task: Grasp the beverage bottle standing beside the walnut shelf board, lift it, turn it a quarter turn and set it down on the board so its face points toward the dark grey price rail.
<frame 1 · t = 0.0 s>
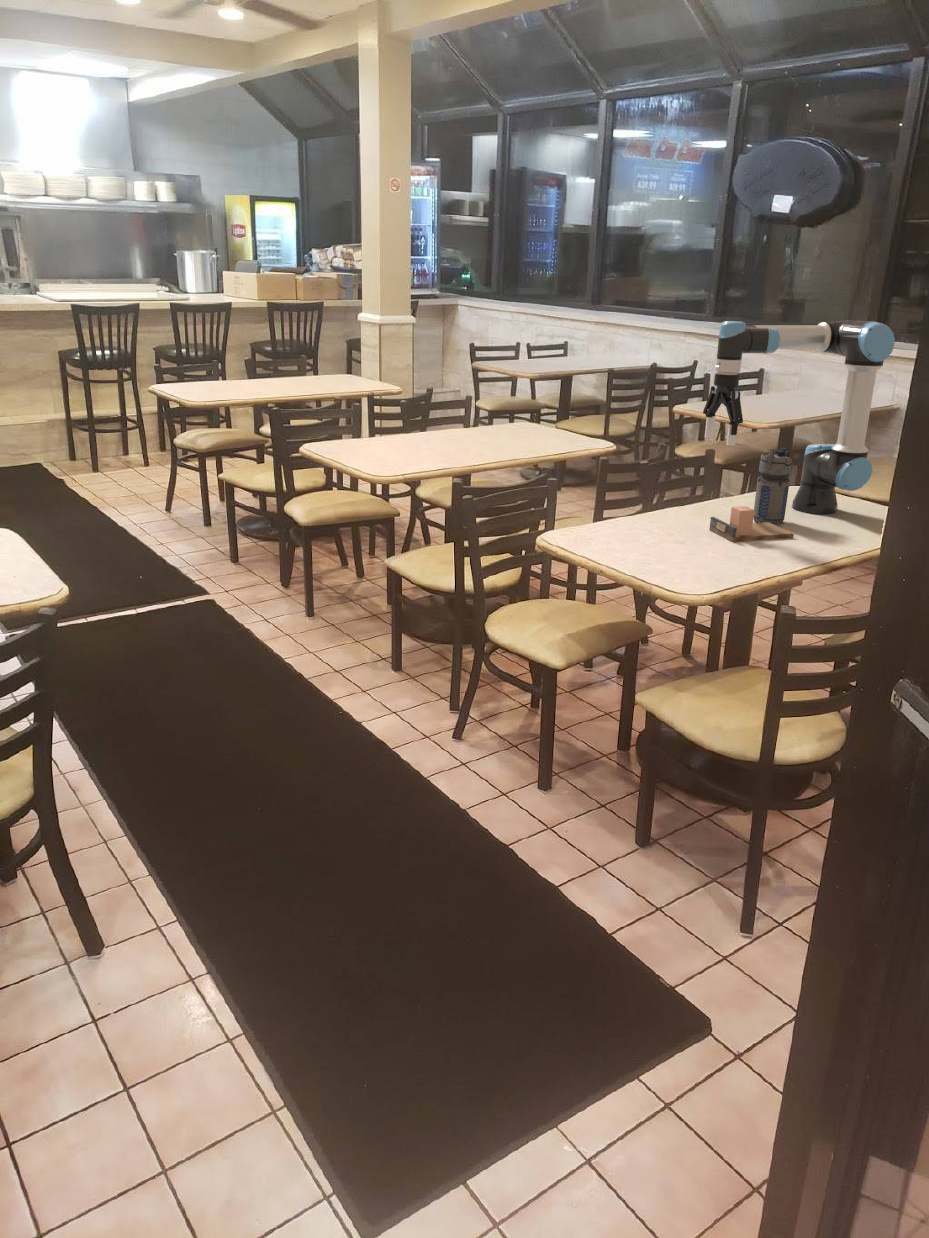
hand: (719, 441, 304), 28 cm above the table, fingers open, 13 cm apart
carton block: (739, 533, 301), point 1 cm above the table, touching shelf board
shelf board: (750, 534, 306), on the table
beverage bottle: (769, 522, 322), on the table
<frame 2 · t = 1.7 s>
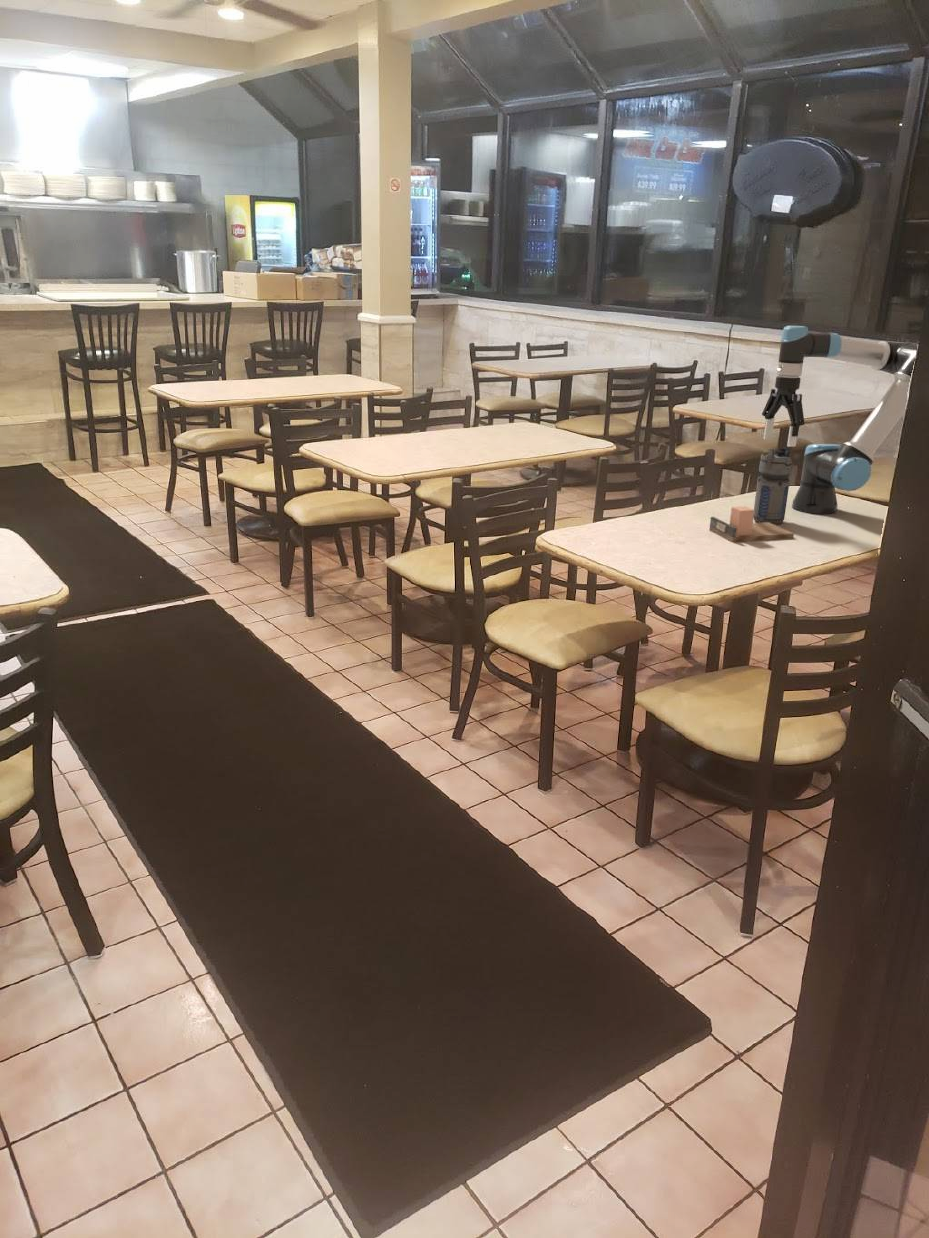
hand: (779, 442, 312), 27 cm above the table, fingers open, 13 cm apart
nothing on the table moved.
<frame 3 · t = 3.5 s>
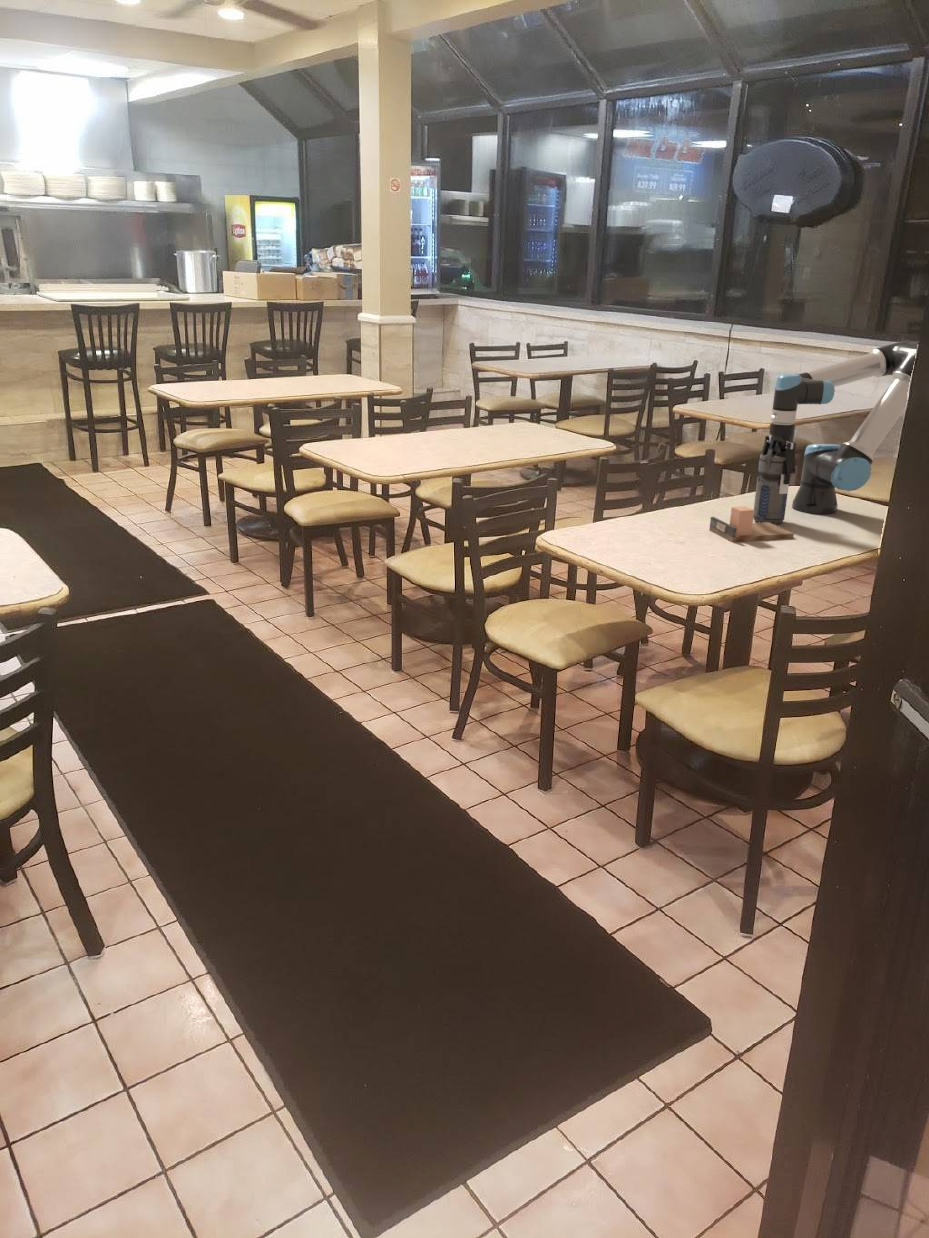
hand: (773, 489, 318), 11 cm above the table, fingers closed on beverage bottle, 10 cm apart
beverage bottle: (769, 521, 322), on the table, touching gripper
everything else where it was.
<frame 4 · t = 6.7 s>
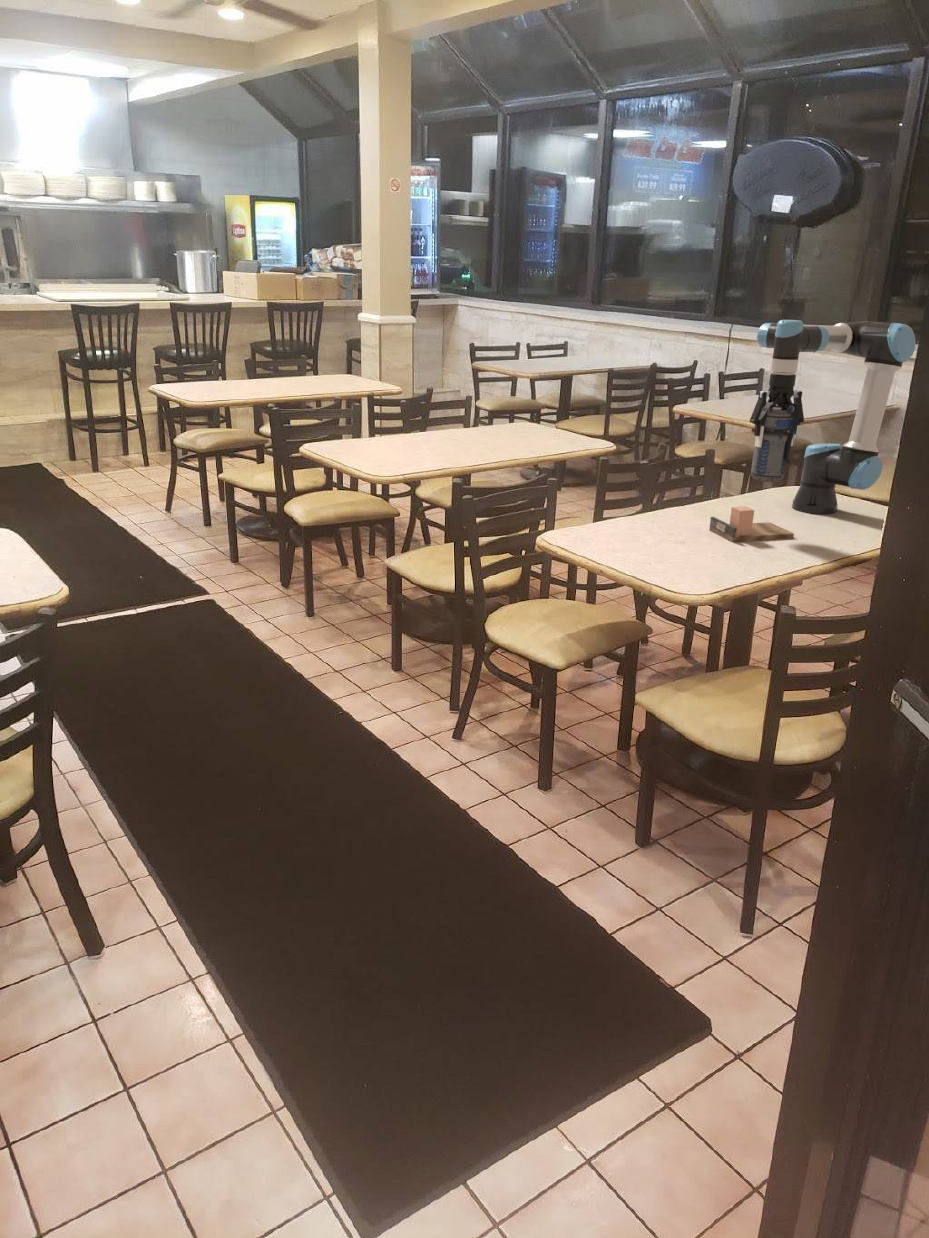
hand: (773, 446, 297), 28 cm above the table, fingers closed on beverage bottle, 10 cm apart
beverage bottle: (769, 480, 301), point 17 cm above the table, touching gripper
everything else where it was.
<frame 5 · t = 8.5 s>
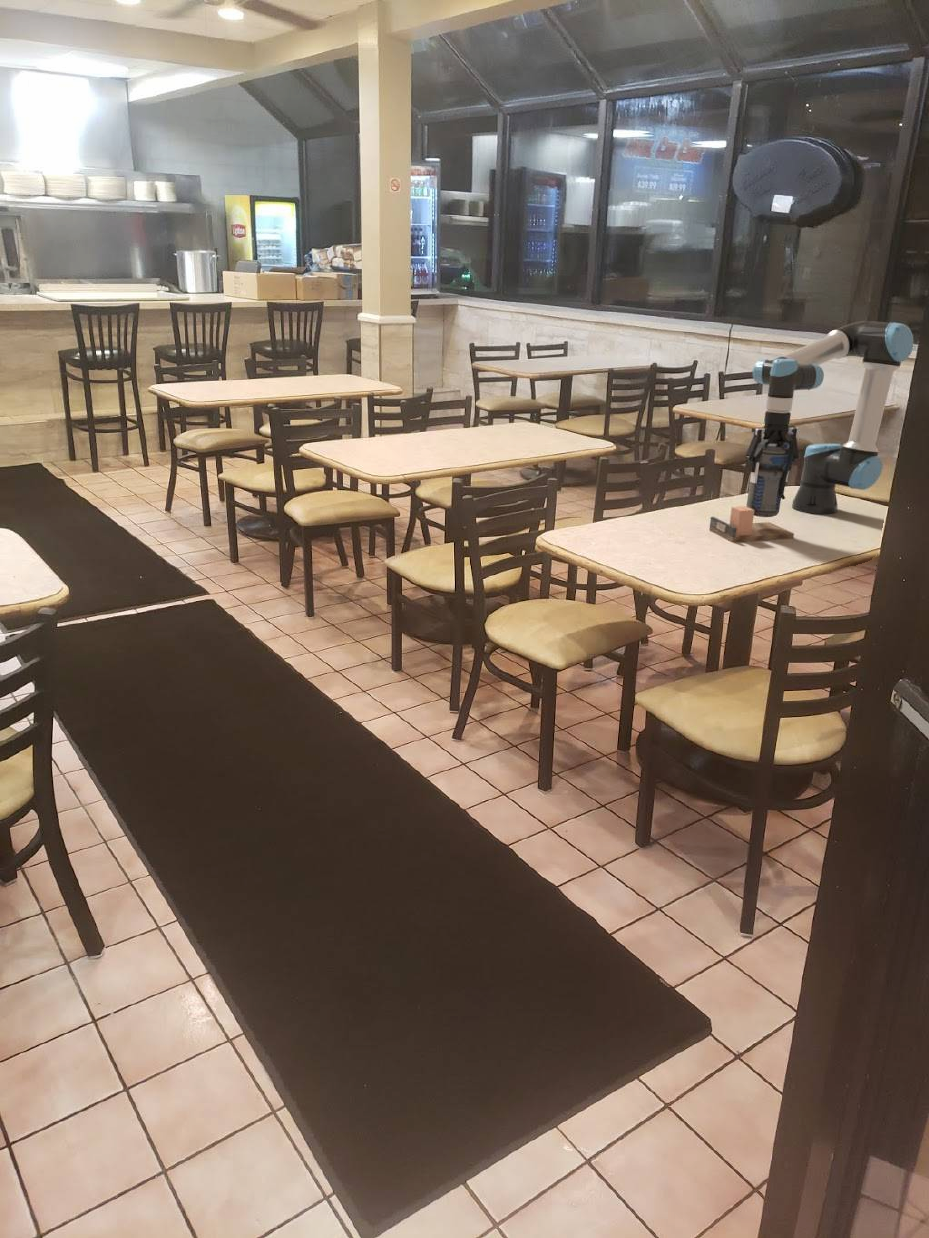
hand: (768, 481, 301), 17 cm above the table, fingers closed on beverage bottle, 10 cm apart
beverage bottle: (764, 515, 305), point 6 cm above the table, touching gripper
everything else where it was.
when the fingers open (13 cm above the table, at t = 9.9 s): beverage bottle moves 1 cm, resting on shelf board.
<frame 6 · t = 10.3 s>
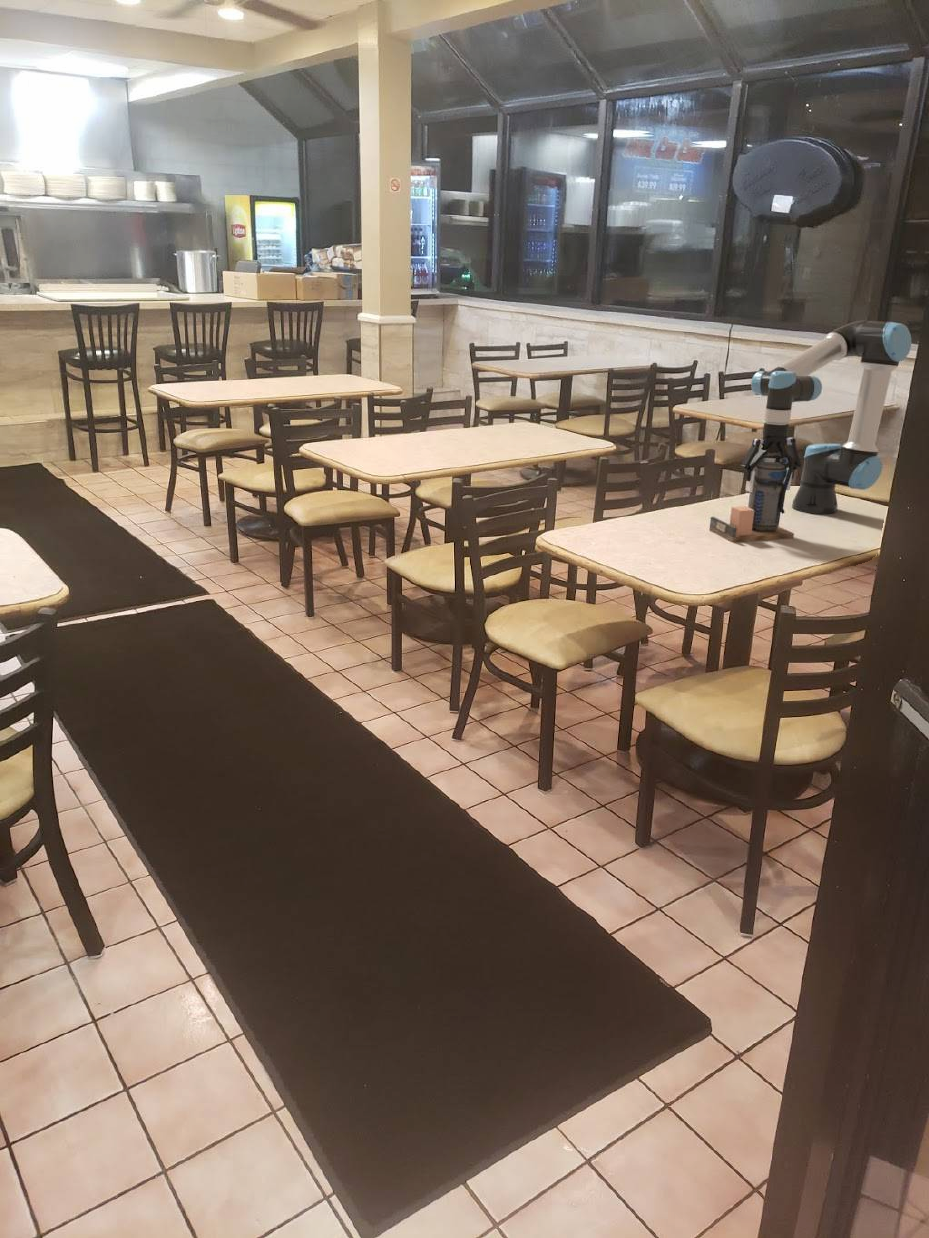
hand: (767, 490, 302), 14 cm above the table, fingers open, 13 cm apart
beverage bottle: (764, 529, 307), point 1 cm above the table, touching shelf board
everything else where it was.
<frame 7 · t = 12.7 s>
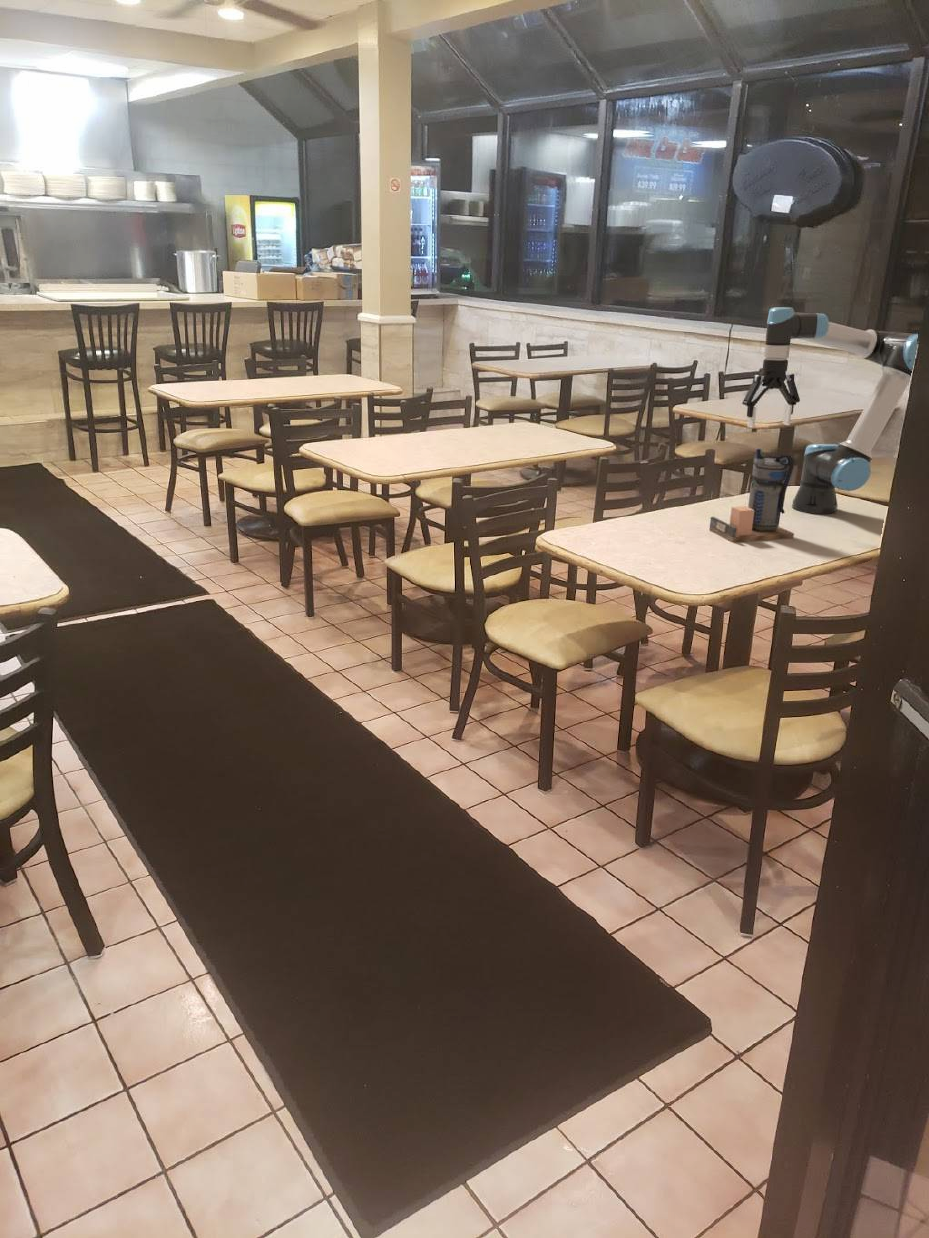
hand: (768, 426, 309), 32 cm above the table, fingers open, 13 cm apart
nothing on the table moved.
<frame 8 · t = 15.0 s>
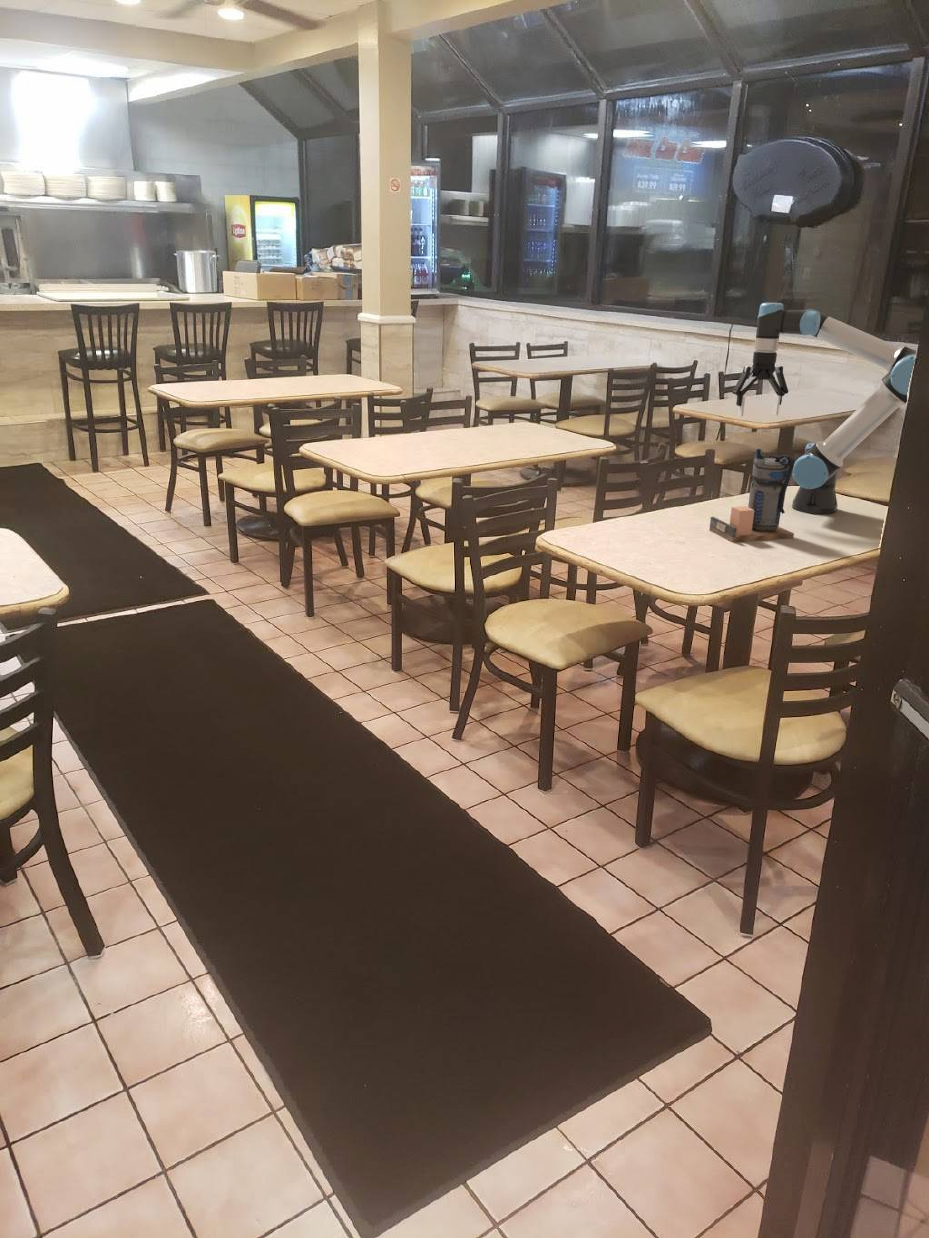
hand: (757, 415, 327), 33 cm above the table, fingers open, 13 cm apart
nothing on the table moved.
at the end: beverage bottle inside the target area on the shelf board (1.8 cm from its centre), point 1.3 cm above the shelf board's base; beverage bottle tilted 0°; the gripper is holding nothing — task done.
